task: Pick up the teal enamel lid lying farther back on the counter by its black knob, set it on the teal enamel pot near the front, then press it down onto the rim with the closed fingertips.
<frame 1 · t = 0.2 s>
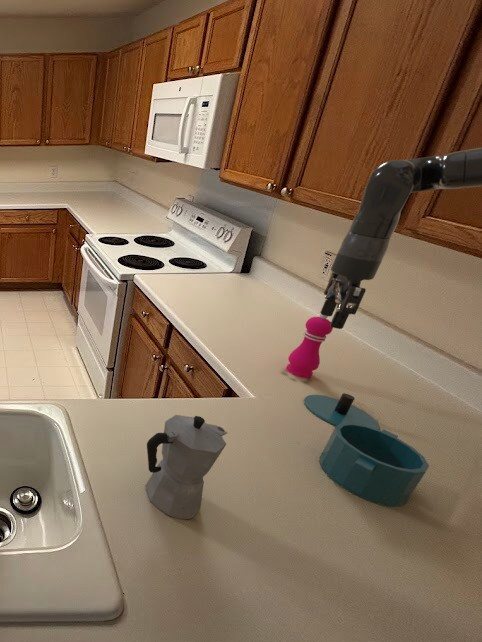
hand: (330, 321, 96), 24 cm above the countertop, tool pointing down, fingers open, 8 cm apart
coffeepot: (166, 500, 74), on the countertop
pot: (360, 478, 83), on the countertop
pepper mill: (297, 374, 122), on the countertop
lid: (339, 414, 103), point 1 cm above the countertop
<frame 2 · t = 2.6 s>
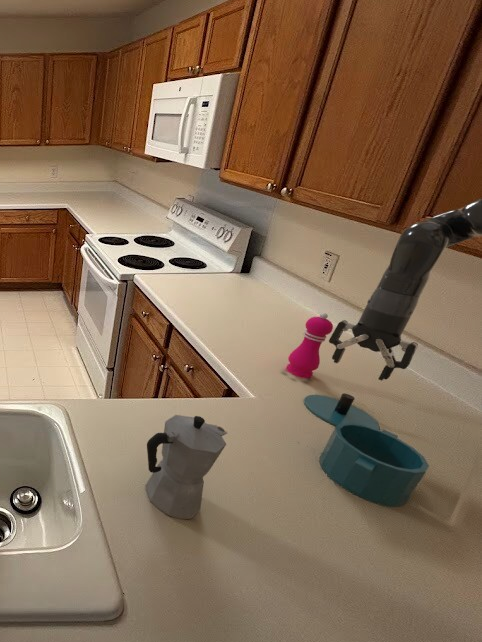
hand: (357, 370, 99), 13 cm above the countertop, tool pointing down, fingers open, 8 cm apart
nothing on the countertop moved.
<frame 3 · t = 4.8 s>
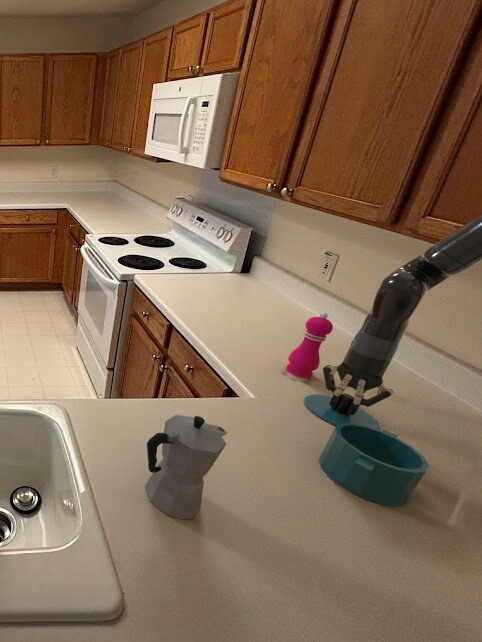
hand: (340, 411, 103), 1 cm above the countertop, tool pointing down, fingers closed on lid, 2 cm apart
lid: (339, 414, 103), point 1 cm above the countertop, touching gripper
everything else where it was.
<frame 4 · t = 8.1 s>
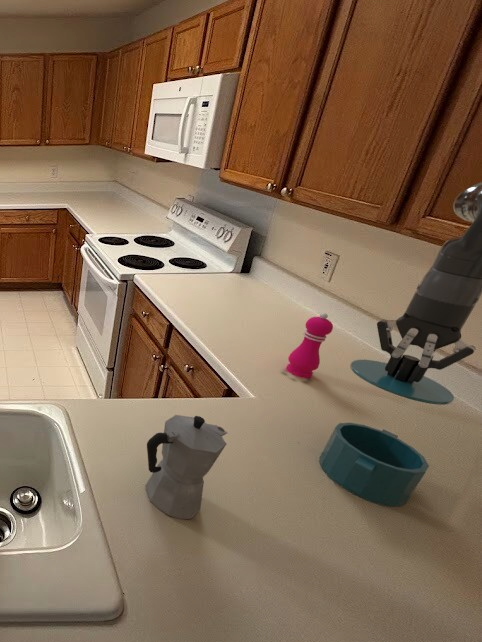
hand: (400, 377, 80), 21 cm above the countertop, tool pointing down, fingers closed on lid, 2 cm apart
lid: (398, 381, 81), point 20 cm above the countertop, touching gripper
everything else where it was.
when the fingers open (9 cm above the countertop, at t = 11.6 s): lid stays where it is, resting on pot.
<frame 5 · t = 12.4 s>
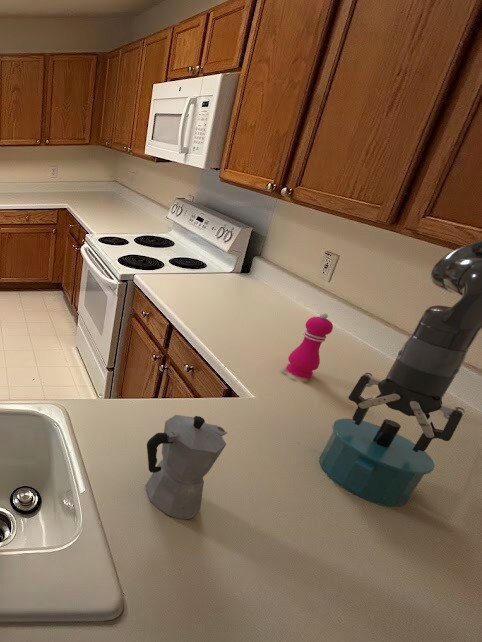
hand: (385, 436, 79), 11 cm above the countertop, tool pointing down, fingers open, 8 cm apart
lid: (379, 445, 80), point 8 cm above the countertop, touching pot
everything else where it was.
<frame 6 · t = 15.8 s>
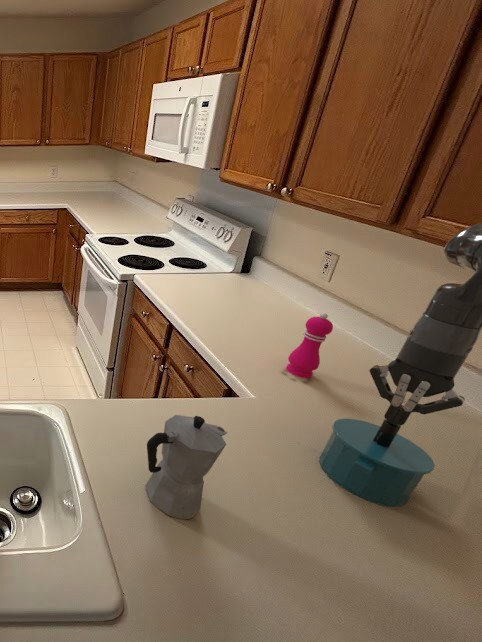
hand: (392, 423, 78), 14 cm above the countertop, tool pointing down, fingers closed
lid: (379, 445, 80), point 8 cm above the countertop, touching gripper, pot
everything else where it was.
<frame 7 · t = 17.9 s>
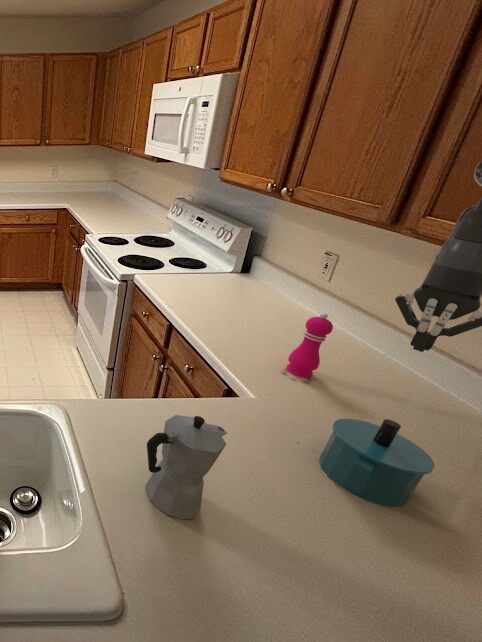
hand: (418, 349, 80), 26 cm above the countertop, tool pointing down, fingers closed
lid: (379, 445, 80), point 8 cm above the countertop, touching pot
everything else where it was.
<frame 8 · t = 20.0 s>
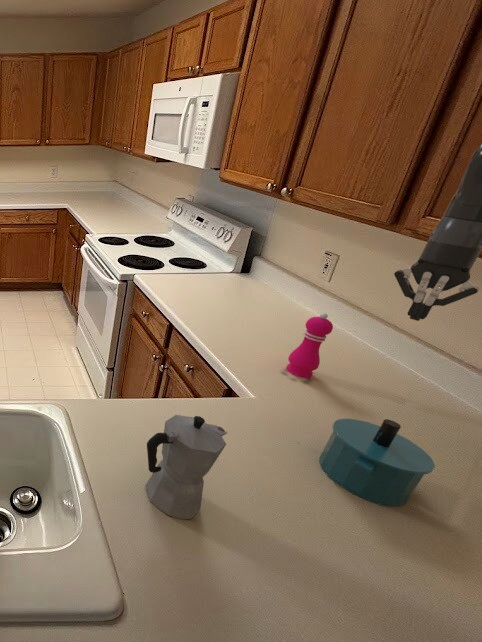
hand: (414, 319, 89), 29 cm above the countertop, tool pointing down, fingers closed
nothing on the countertop moved.
at the end: lid 0.0 cm off-centre on the pot, point 8.5 cm above the pot's base; lid tilted 0°; the gripper is holding nothing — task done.
